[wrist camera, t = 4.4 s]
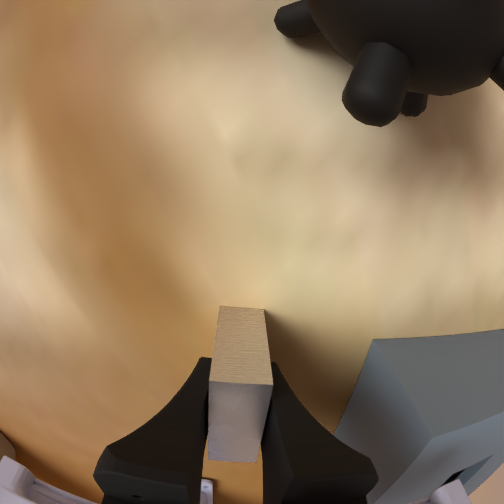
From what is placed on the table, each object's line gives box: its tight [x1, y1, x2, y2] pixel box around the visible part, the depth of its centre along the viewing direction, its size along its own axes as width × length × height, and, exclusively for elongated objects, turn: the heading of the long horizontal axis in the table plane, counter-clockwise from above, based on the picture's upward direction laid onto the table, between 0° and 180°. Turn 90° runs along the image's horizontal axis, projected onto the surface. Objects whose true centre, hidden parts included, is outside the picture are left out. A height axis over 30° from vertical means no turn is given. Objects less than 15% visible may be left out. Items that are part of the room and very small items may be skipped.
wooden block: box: [208, 306, 273, 462], centre depth 12 cm, size 5×2×5 cm, turn 174°
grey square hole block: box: [334, 329, 504, 504], centre depth 14 cm, size 18×14×7 cm
